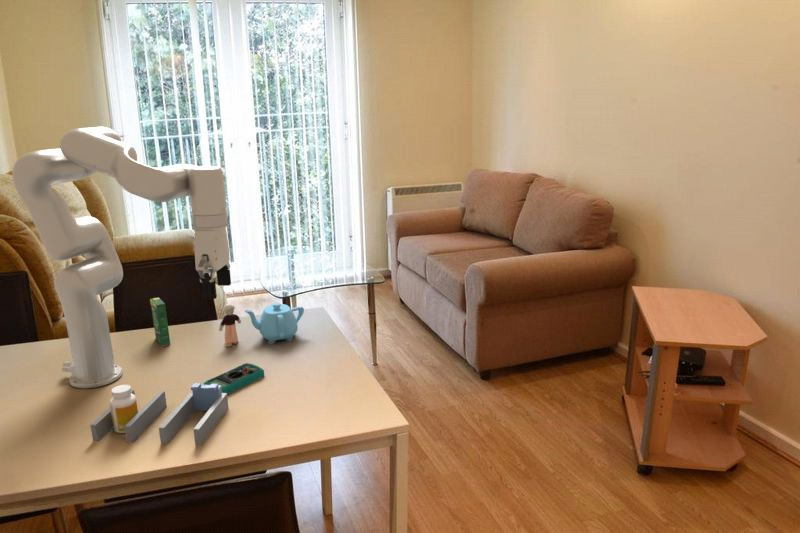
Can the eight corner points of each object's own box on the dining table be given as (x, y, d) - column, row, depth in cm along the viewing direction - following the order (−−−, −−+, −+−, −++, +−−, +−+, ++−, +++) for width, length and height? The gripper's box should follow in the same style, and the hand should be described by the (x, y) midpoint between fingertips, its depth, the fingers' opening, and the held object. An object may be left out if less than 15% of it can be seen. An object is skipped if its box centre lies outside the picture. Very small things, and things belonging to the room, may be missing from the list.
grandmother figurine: (229, 349, 177) (225, 308, 174) (218, 346, 179) (214, 306, 175) (246, 339, 184) (242, 300, 180) (236, 337, 185) (232, 298, 182)
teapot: (307, 335, 187) (306, 301, 185) (277, 350, 175) (276, 313, 173) (276, 329, 193) (274, 295, 191) (245, 343, 181) (242, 307, 179)
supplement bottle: (145, 424, 137) (139, 385, 135) (126, 436, 133) (119, 396, 130) (128, 419, 140) (122, 381, 137) (108, 430, 135) (102, 391, 132)
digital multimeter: (266, 377, 160) (266, 367, 160) (221, 399, 149) (220, 388, 148) (248, 370, 165) (247, 360, 164) (202, 391, 153) (201, 381, 152)
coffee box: (154, 338, 186) (149, 298, 182) (164, 336, 187) (159, 296, 184) (160, 346, 179) (155, 305, 176) (170, 344, 181) (165, 303, 177)
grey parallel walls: (93, 441, 131) (88, 413, 129) (131, 404, 146) (127, 379, 144) (200, 446, 128) (197, 417, 127) (228, 408, 144) (225, 382, 142)
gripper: (208, 213, 146) (215, 280, 151) (178, 229, 130) (187, 303, 135) (238, 213, 146) (244, 280, 151) (212, 229, 129) (219, 304, 134)
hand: (217, 291), depth 143 cm, fingers open, 9 cm apart
